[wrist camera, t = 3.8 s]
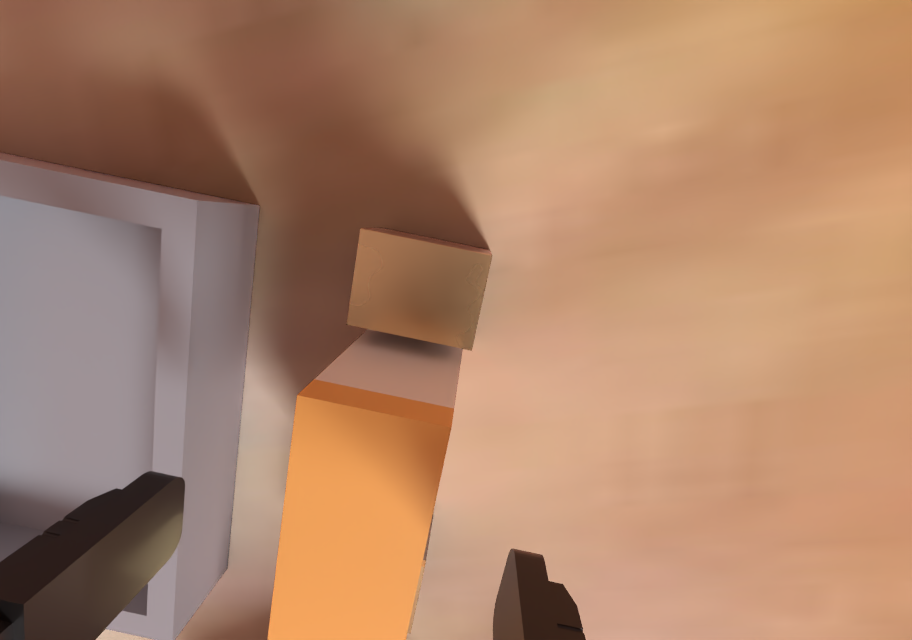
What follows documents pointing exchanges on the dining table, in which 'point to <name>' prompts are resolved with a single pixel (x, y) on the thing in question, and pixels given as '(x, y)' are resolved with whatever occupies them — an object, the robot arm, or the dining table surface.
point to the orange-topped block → (363, 489)
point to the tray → (122, 361)
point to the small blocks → (418, 294)
